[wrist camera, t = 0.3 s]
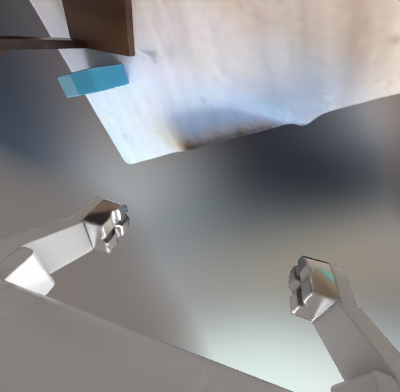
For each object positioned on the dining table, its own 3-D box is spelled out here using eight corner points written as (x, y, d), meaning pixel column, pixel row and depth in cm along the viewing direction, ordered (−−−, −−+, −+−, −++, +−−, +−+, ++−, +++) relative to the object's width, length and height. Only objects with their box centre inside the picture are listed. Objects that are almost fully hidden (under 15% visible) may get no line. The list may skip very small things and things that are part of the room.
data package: (97, 90, 58) (63, 98, 49) (89, 72, 56) (53, 77, 46) (131, 83, 54) (102, 90, 45) (125, 63, 52) (92, 67, 42)
